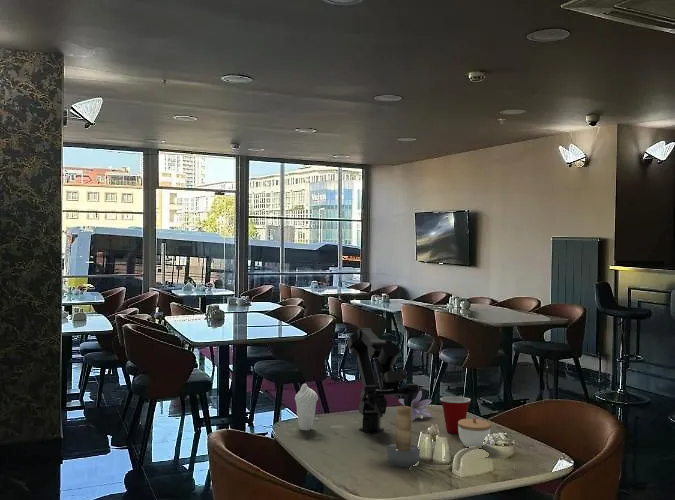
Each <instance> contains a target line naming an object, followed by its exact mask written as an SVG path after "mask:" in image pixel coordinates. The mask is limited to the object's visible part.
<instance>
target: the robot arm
mask: <svg viewBox="0 0 675 500" xmlns="http://www.w3.org/2000/svg"><path fill="white" fill-rule="evenodd" d="M347 348H348V349H349V351H350V354H351V356H352V357H354V358H355V359H356V361H357V365H358V369H359V375H360V378H361V383H362V389H361V391H360V402H359V404H358V413H360V415H362V416H363V417H362V424H361V425H362V427H359V429H358V430H359V431H362V432H366V433H369V434H376V433H379V432H382V431H384V430H385V429H384V428H383V427H381V418H383V416H384V415H386V411H387V405H388V400H387V398H386V397H387V396H403V397H402V399H404V404H405V406H408V407H411V402H412V401H413V400H414V399H416V397H417V395H418V393H419V391H421V389H420V387H419V385H418V384H417V383H407V384H405V386H404V388H399V387H400V386H401V383H400V382H402V381H405V380H406V379H407V378H408V373H407V370H406V369H405V368H400V369H399V370H394V367H393V365H395V363H396V361H397V359H398V356H399V354H400V352H401V349H400V347H399V346H398V345H397V344H396V343H395V342H392V339H387V340H386V339H379V337H378V336H377V334H375V333H374V332H373V329H372V328H371V327H370V328H369V327H364V328H363V327H362V328H361V327H360V328H358V329H357V330H356V331H355V332H354V333H352V334H351V335H349V338H348V340H347ZM370 358H371V359H376V360H375V361H374V370H375V372H376V376H377V381H376V378H375V375H374V371H373V367H372V362H371V360H370ZM376 382H377V383H376ZM377 384H378V385H377Z"/></svg>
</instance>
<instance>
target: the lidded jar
mask: <svg viewBox="0 0 675 500" xmlns="http://www.w3.org/2000/svg"><path fill="white" fill-rule="evenodd" d="M491 429H492V425H491V423H490V422H489V421H487V420H484V419H479V418H476V417H472V418H466V419H462V420H459V421H458V433H459V434H458V437H459V439H460V442H461V443H462V444H463V445H464V447H465V448H467V447H469V446H476V447H482V446H483V442H484V439H485V437H486V436H487V435H488V434H490V435H491ZM483 447H484V446H483Z"/></svg>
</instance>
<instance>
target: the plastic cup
mask: <svg viewBox="0 0 675 500" xmlns="http://www.w3.org/2000/svg"><path fill="white" fill-rule="evenodd" d="M471 400H472V399H471V398H469V397H466V396H465V397H464V396H443V397H440V398H439V401H441V406H442V411H443V417H444V423H445V429H446V432H447V433H449V434H453V435H456V434H457V435H459V433H458V421H459V420H462V419H467V416H468V415H467V414H468V409H469V405H470V403H471Z"/></svg>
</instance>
